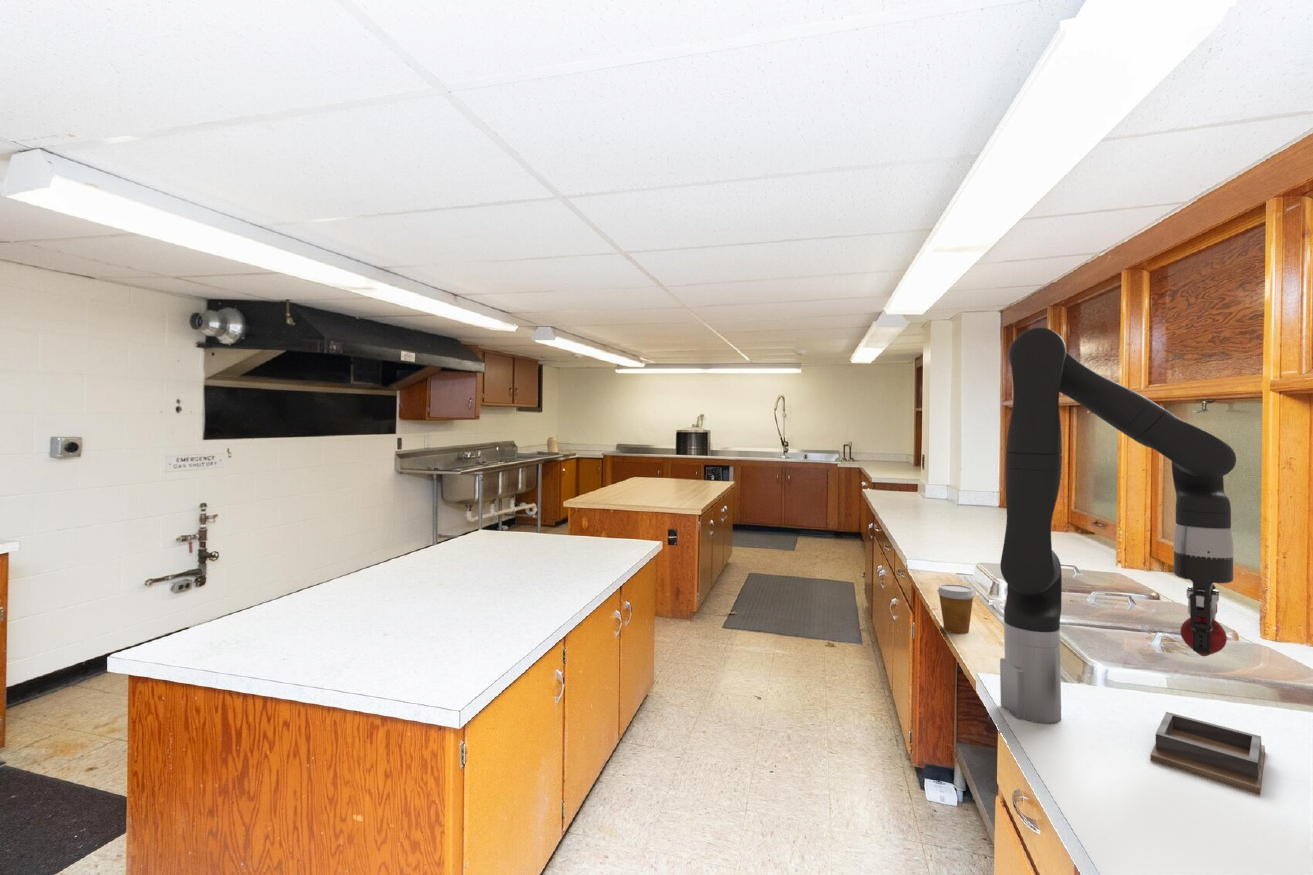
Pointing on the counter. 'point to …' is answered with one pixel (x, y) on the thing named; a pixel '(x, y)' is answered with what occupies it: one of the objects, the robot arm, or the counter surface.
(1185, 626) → the onion
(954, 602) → the disposable coffee cup
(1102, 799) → the counter surface
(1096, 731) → the counter surface
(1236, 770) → the pocket board
